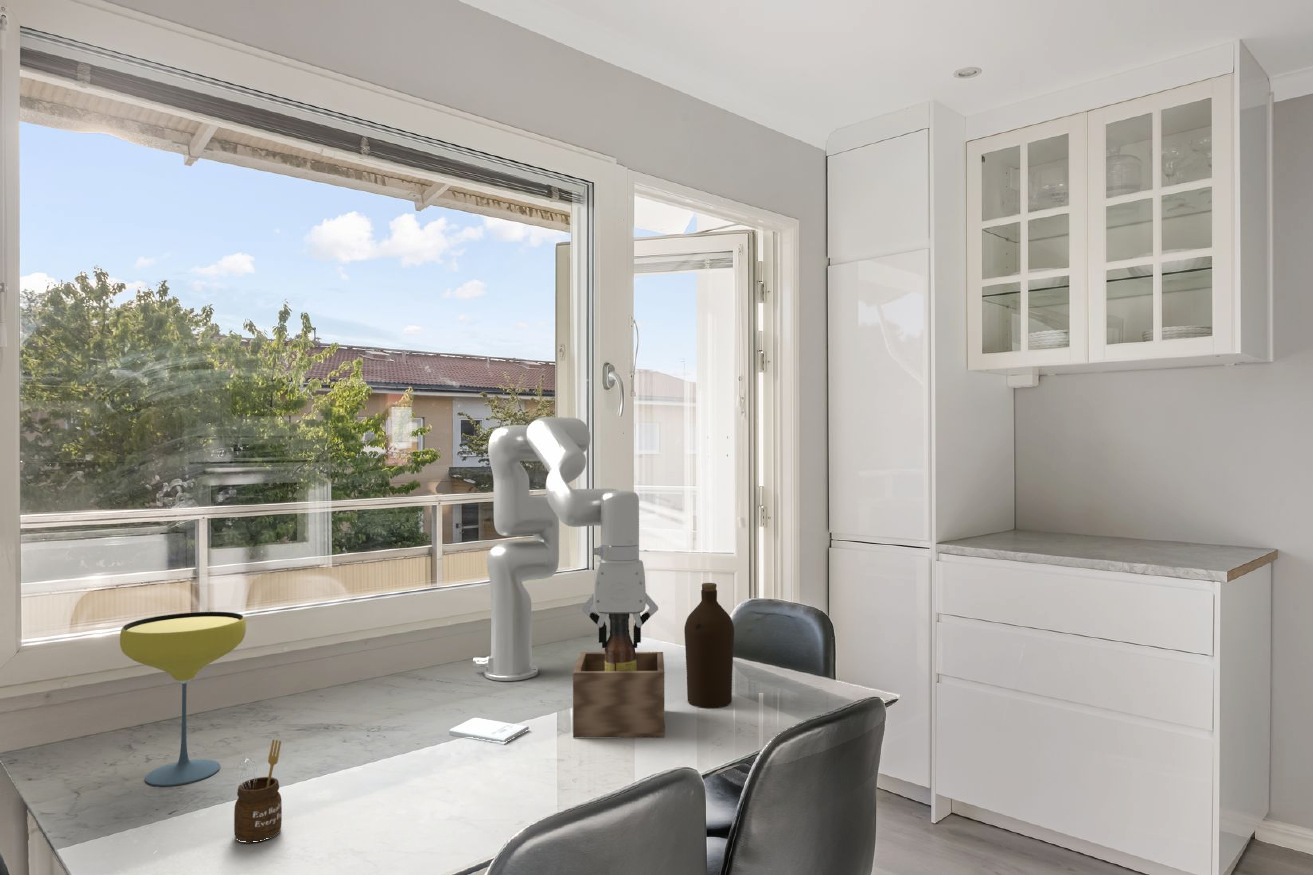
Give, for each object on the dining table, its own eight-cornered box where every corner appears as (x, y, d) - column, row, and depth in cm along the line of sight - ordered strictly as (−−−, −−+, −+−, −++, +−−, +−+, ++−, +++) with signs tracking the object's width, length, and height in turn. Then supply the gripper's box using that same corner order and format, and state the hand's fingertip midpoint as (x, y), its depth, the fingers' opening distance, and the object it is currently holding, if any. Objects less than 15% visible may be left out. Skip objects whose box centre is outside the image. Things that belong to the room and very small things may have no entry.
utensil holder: (223, 840, 111) (224, 752, 112) (260, 821, 117) (261, 737, 118) (256, 847, 109) (257, 757, 110) (292, 827, 115) (293, 742, 115)
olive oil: (736, 709, 168) (736, 587, 169) (685, 709, 168) (684, 587, 169) (732, 694, 179) (731, 579, 179) (684, 694, 179) (683, 580, 180)
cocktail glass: (164, 752, 144) (166, 611, 145) (265, 753, 144) (266, 611, 144) (90, 795, 126) (92, 633, 127) (205, 796, 126) (206, 633, 126)
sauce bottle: (641, 709, 162) (642, 609, 162) (630, 719, 156) (631, 615, 156) (611, 706, 164) (612, 606, 164) (598, 715, 158) (600, 612, 158)
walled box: (573, 737, 152) (573, 672, 152) (580, 710, 168) (580, 652, 168) (664, 737, 152) (664, 672, 152) (663, 710, 168) (663, 651, 168)
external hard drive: (475, 724, 161) (529, 733, 156) (449, 738, 153) (504, 747, 148) (475, 716, 161) (529, 724, 156) (449, 729, 153) (504, 738, 148)
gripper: (574, 556, 157) (574, 651, 156) (663, 556, 157) (663, 650, 156) (578, 551, 164) (577, 642, 164) (663, 551, 164) (663, 641, 164)
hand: (619, 645), depth 160 cm, fingers closed on sauce bottle, 5 cm apart
